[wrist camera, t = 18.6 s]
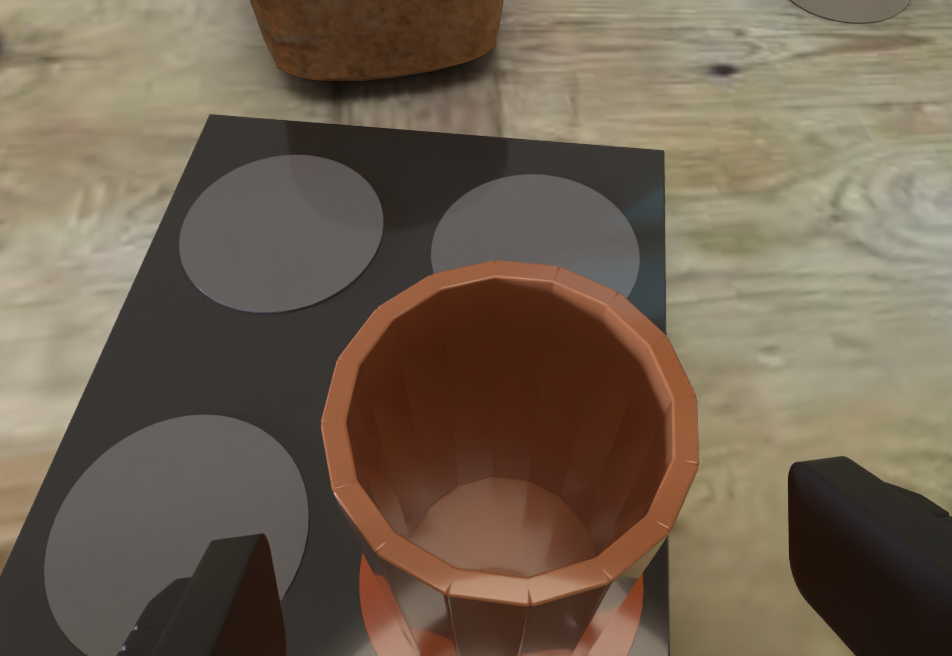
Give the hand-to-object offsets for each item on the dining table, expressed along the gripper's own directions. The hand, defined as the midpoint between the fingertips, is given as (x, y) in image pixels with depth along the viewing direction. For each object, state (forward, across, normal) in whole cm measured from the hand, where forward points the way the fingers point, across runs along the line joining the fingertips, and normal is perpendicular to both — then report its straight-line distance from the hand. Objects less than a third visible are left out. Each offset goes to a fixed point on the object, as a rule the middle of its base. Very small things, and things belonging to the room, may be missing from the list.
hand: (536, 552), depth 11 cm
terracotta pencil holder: (+8, 0, +5) cm, 9 cm away
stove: (+14, +3, +2) cm, 14 cm away
